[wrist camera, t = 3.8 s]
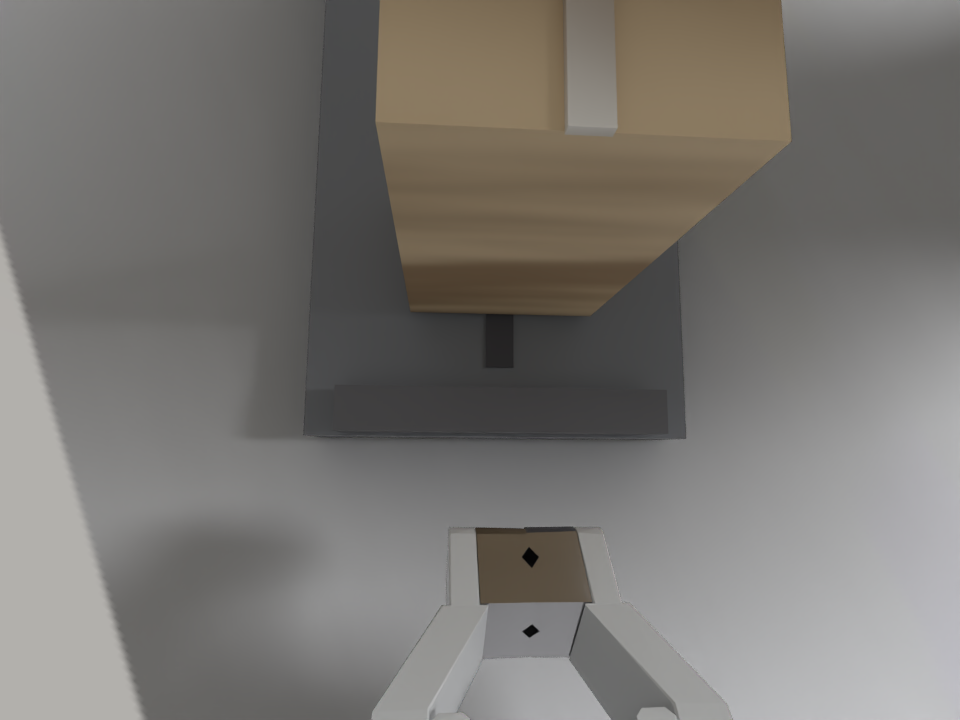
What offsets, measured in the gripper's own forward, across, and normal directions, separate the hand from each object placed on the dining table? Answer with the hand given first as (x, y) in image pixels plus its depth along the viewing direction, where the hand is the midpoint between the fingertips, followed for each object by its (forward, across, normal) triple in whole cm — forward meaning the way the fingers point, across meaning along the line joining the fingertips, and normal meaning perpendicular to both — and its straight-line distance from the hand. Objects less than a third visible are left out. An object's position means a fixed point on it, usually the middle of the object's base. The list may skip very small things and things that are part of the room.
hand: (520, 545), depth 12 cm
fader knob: (+9, 0, -2) cm, 9 cm away
